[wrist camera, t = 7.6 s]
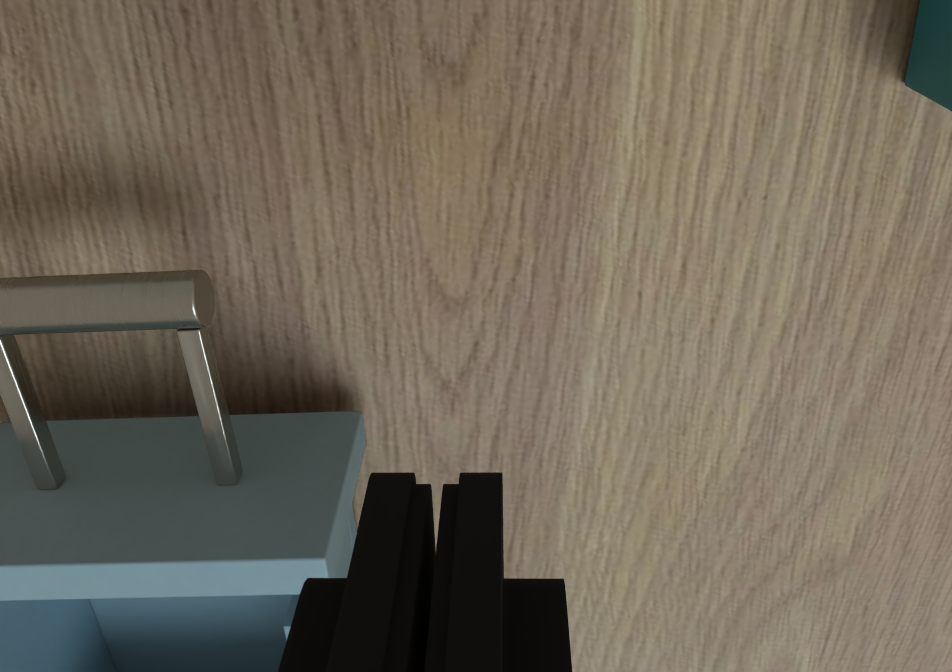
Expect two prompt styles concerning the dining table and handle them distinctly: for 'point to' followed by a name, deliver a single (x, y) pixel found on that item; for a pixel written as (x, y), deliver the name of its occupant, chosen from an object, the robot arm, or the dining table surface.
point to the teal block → (932, 52)
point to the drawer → (159, 501)
